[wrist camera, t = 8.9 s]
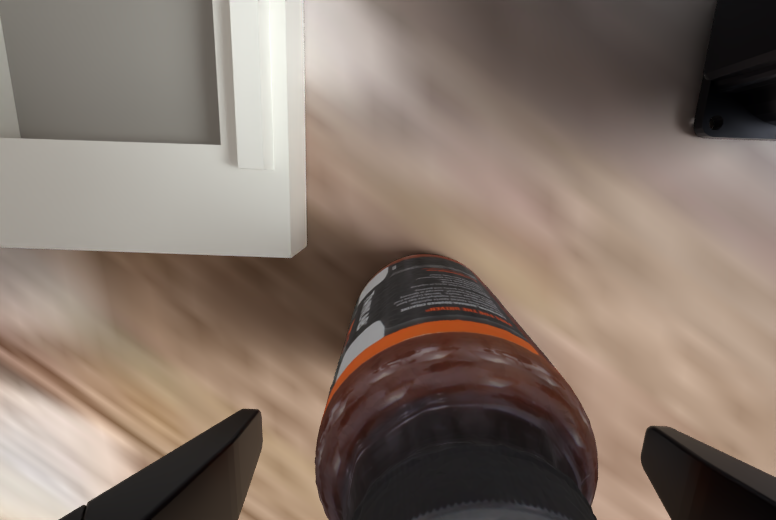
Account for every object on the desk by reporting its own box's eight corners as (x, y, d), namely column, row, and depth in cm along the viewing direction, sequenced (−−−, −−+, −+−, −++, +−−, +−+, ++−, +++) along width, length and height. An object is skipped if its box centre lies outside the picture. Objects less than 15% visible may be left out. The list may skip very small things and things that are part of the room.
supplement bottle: (333, 279, 16) (184, 517, 5) (466, 230, 15) (665, 365, 4) (383, 397, 17) (362, 818, 6) (509, 356, 16) (756, 732, 5)
